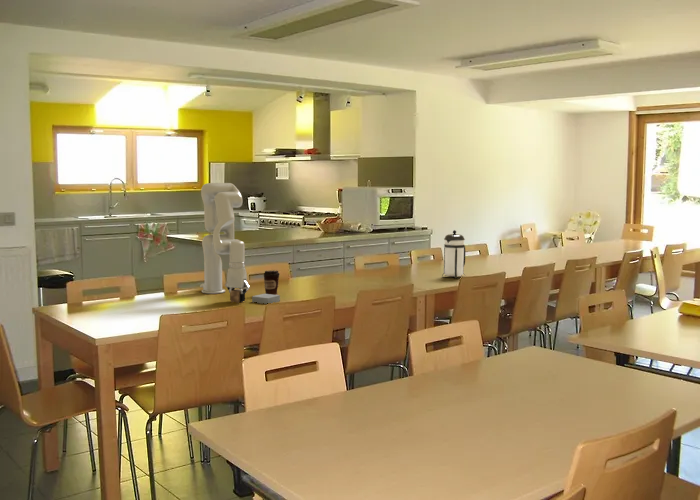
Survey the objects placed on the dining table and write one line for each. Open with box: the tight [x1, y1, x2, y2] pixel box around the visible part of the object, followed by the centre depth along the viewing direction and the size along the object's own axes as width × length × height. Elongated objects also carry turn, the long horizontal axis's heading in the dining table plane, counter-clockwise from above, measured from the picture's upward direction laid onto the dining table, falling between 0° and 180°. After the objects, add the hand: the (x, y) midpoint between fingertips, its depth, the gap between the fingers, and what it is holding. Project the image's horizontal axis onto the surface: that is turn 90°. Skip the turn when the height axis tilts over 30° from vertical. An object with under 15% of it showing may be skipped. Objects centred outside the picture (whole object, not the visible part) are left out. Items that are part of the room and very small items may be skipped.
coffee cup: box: [263, 269, 280, 295], centre depth 384 cm, size 9×8×13 cm
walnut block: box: [229, 288, 241, 304], centre depth 363 cm, size 5×5×6 cm
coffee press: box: [441, 229, 466, 279], centre depth 455 cm, size 17×16×30 cm
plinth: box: [251, 293, 281, 305], centre depth 364 cm, size 10×10×3 cm
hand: (237, 300), depth 363 cm, fingers open, 5 cm apart
